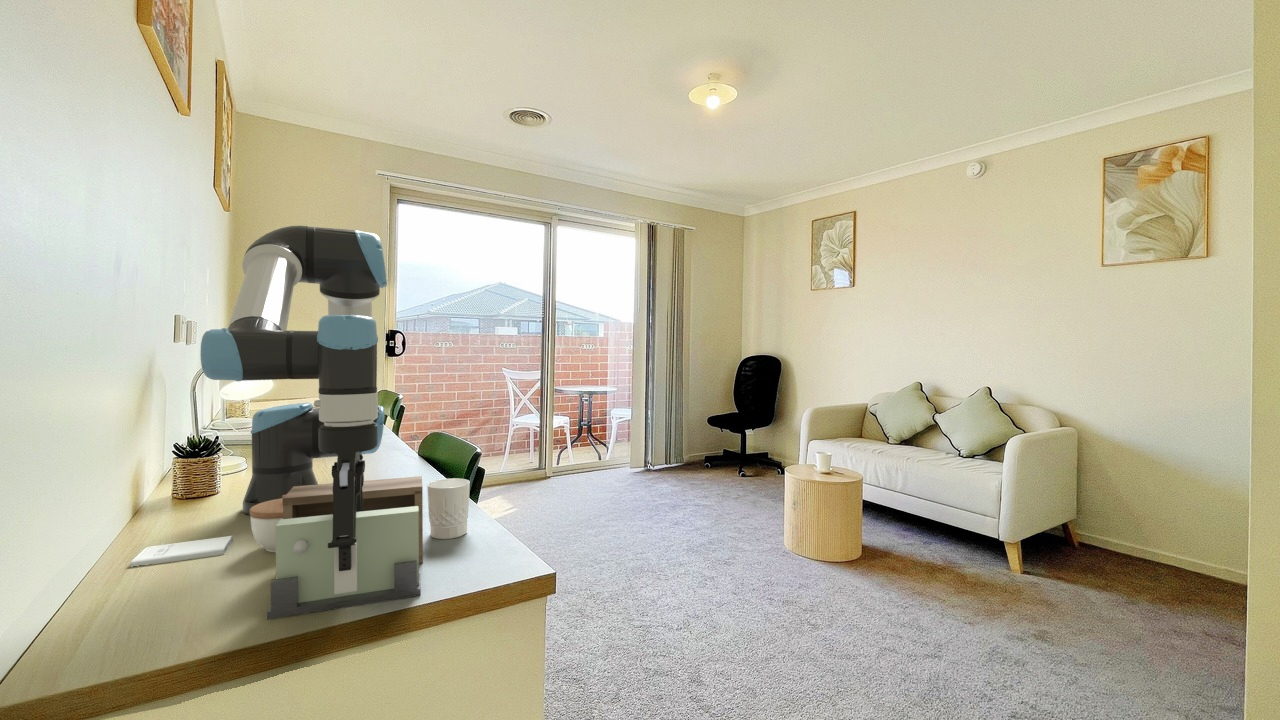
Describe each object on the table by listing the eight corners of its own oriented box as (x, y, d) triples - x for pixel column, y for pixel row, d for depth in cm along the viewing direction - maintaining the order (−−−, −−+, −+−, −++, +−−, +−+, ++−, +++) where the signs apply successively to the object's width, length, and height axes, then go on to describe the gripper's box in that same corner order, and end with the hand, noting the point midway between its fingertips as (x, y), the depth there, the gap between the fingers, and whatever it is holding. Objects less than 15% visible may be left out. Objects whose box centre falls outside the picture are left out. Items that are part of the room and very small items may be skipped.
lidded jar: (286, 559, 93) (285, 505, 93) (234, 554, 95) (233, 501, 95) (333, 538, 104) (333, 489, 103) (285, 534, 106) (285, 486, 106)
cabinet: (294, 563, 91) (293, 486, 91) (421, 547, 99) (421, 476, 99) (283, 582, 84) (283, 498, 84) (422, 562, 92) (422, 486, 92)
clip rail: (277, 600, 78) (276, 565, 78) (420, 579, 85) (419, 547, 85) (266, 619, 72) (266, 582, 72) (420, 595, 80) (420, 561, 79)
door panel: (418, 576, 84) (418, 505, 83) (418, 587, 80) (418, 513, 80) (281, 597, 77) (280, 519, 77) (274, 610, 73) (273, 528, 73)
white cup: (420, 533, 106) (419, 483, 106) (457, 524, 112) (457, 476, 112) (439, 543, 101) (439, 490, 101) (477, 533, 107) (477, 482, 107)
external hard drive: (223, 557, 95) (130, 570, 90) (232, 543, 103) (146, 554, 97) (223, 548, 95) (130, 561, 90) (232, 534, 103) (146, 545, 97)
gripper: (329, 415, 87) (330, 556, 87) (304, 434, 67) (306, 616, 67) (381, 413, 89) (381, 550, 90) (372, 431, 70) (373, 605, 70)
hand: (349, 578), depth 79 cm, fingers open, 8 cm apart
